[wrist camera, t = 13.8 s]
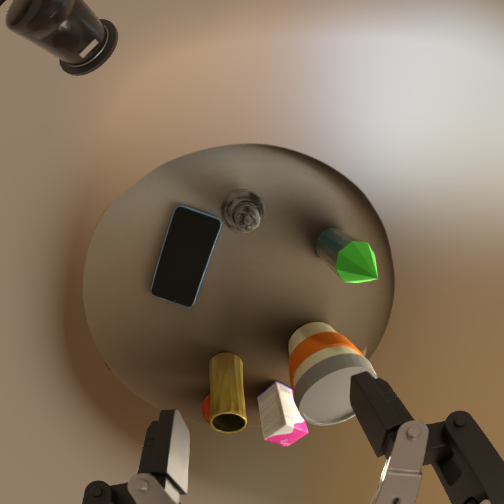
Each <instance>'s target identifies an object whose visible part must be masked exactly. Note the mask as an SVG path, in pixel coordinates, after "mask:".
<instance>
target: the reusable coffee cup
mask: <svg viewBox="0 0 504 504" xmlns="http://www.w3.org/2000/svg"><path fill="white" fill-rule="evenodd" d="M288 349H289V356H290V358H289V363H288V365H289V375H290V383H291V387H292V390H293V400H294V403H295V405H296V407H297V409H298V411H299V413H300V415H301V417H302V418H303V419H304V420H305V421H307V422H308V423H311V424H313V425H320V426H323V425H324V426H326V425H333V424H337V423H341V422H343V421H346V420H348V419H350V418H352V417H354V416H355V413H354V411H353V409H352V407H351V404H350V398H349V395H350V379H351V376H352V375H355V374H358V373H361V372H364V371H367V372H368V373H369V374H370V375H371V377H372V378H373V379H376V378H377V375H376V373H375V371H374V369H373V367H372V365H371V363H370V362H369V361H368V360H367V359H366V358H365V357H363V356H362V354H361V352H360V351H359V350H358V349H357V348H356V347H355V346H354V345H353V344H352V343H351V342H350V341H349V340H348V339H347V338H346V337H344V336H343V335H341V334H339V333H337V332H336V331H335V330H334V329H333V328H332V327H331V326H329V325H328V324H326V323H323V322H312V323H308V324H305V325H303V326H302V327H300V328H299V329H297V330H296V331H295V332H294V333H293V335H292V336H291V338H290V340H289V345H288Z"/></svg>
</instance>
